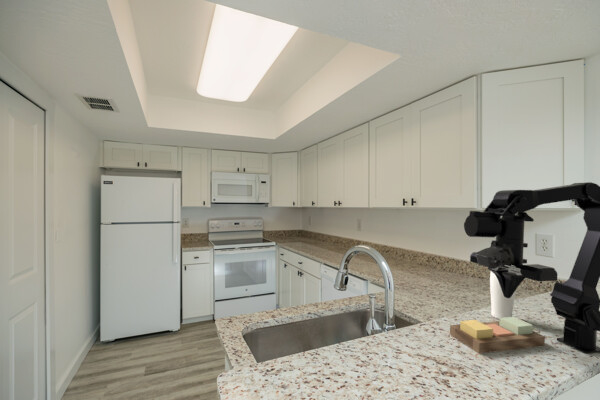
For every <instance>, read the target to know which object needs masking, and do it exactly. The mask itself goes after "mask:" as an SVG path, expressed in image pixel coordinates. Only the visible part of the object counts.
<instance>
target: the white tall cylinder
mask: <svg viewBox="0 0 600 400" xmlns="http://www.w3.org/2000/svg"><path fill="white" fill-rule="evenodd" d="M489 290H490V314H491V316H492V317H493V318H494V319H497V320H500V318H505V317H513V310H514V305H515V299H516V292H517V289H516V290H515V292H514V293H513V295H512V296H511V297H510V298H506V297H504V295H503V292H502V289H501V287H500V284H499V281H498V279H497V277H496V275H495V274H494V273H493V272H492V271H490V274H489Z"/></svg>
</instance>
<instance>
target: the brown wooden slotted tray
mask: <svg viewBox="0 0 600 400" xmlns="http://www.w3.org/2000/svg"><path fill="white" fill-rule="evenodd" d="M499 321H500V320H497V321H486V322H484V321H483V322H482V323H483V324H485V325H488V324H496V325H498V326H499ZM500 327H501V326H500ZM502 328H503V327H502ZM504 329H505V328H504ZM506 330H507V329H506ZM508 331H509V330H508ZM510 332H511V331H510ZM512 333H513V332H512ZM449 335H450V336H452V337H453V338H455V339H457V340H458V341H459V342H461V344H464V345H466V346H467V347H468V348H470V349H471V350H472V351H474V352H476V353H477V354H486V353H494V352H495V353H496V352H504V351H512V350H521V349H531V347H532V348H537V347H544V346H545V341H546V336H545V335H543V334H541V333H538V332H536V331H535V330H533V334H523V335H517V334H515V333H513V336H503V337H497V336H495V335H493V338H483V339H475V338H474V337H472V336H471V335H469V334H467V333H466V332H464V331H462V330H461V329H460V324H451V325H449Z"/></svg>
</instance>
